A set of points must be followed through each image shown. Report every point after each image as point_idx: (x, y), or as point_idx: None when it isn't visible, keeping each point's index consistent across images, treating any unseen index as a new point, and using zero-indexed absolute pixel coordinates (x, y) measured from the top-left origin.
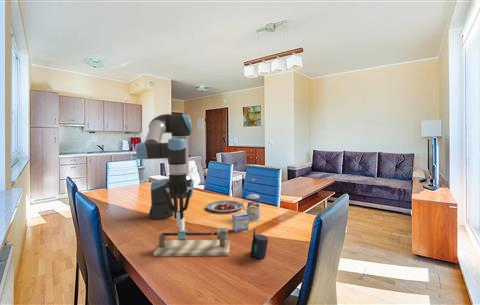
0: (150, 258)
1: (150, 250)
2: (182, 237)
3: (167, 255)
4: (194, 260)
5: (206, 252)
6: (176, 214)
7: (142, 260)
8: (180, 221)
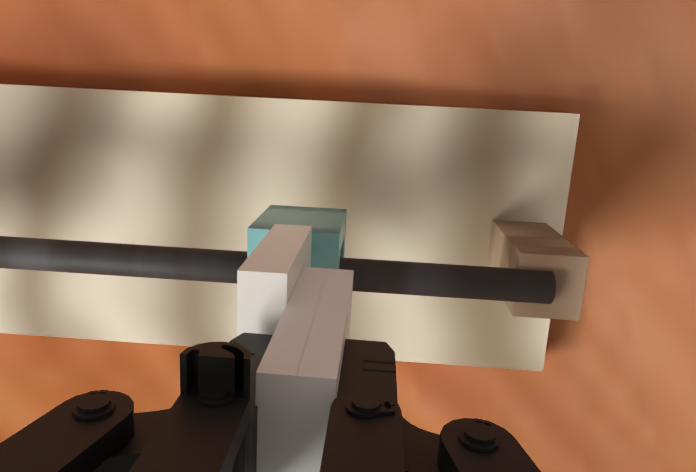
0: (590, 71)
1: (625, 229)
2: (291, 213)
3: (438, 106)
4: (170, 6)
5: (62, 87)
6: (338, 357)
7: (659, 37)
8: (271, 268)
